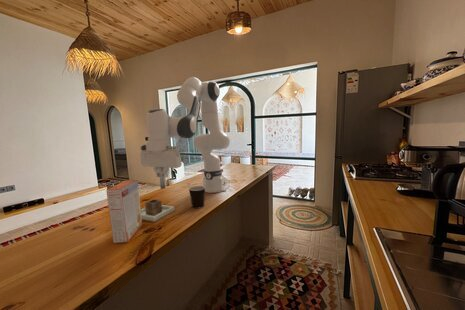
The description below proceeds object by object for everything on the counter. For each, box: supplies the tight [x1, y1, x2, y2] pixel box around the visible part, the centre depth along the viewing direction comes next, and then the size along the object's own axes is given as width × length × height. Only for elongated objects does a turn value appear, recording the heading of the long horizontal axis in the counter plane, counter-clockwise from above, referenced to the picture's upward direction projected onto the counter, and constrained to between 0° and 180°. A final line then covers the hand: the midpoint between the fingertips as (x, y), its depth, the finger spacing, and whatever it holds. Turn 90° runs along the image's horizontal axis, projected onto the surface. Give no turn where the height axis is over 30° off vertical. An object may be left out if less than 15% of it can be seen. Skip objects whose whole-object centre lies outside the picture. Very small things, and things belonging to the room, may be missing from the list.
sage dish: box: [141, 204, 175, 223], centre depth 100 cm, size 14×14×2 cm
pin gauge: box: [159, 167, 166, 190], centre depth 89 cm, size 2×2×12 cm
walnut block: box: [144, 198, 163, 216], centre depth 100 cm, size 5×5×6 cm
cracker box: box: [106, 179, 143, 244], centre depth 80 cm, size 14×6×21 cm, turn 3°
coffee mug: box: [188, 185, 206, 209], centre depth 110 cm, size 12×9×10 cm
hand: (161, 176), depth 89 cm, fingers closed on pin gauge, 2 cm apart
